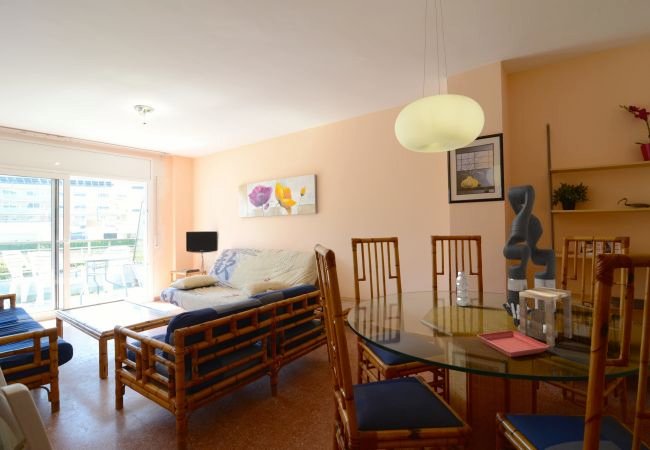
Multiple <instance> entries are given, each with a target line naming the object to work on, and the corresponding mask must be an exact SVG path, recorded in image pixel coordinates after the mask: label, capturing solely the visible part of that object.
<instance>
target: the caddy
mask: <svg viewBox="0 0 650 450" xmlns="http://www.w3.org/2000/svg"><path fill="white" fill-rule="evenodd" d="M527 321H528V337H530V338H533V339H538V340H541V341H542V342H543V341H544V342H547V338H546V323H545V324H544V311H543V310H539V309H535V307H534V308H532V309H531V314H530V318H527ZM517 332H518V333H520V325H519V326H518V327H517ZM558 332H559V331H558V330H557V329H554V334H555V339H558V337H559V336H558V334H559V333H558Z"/></svg>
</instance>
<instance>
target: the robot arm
mask: <svg viewBox="0 0 650 450" xmlns="http://www.w3.org/2000/svg"><path fill="white" fill-rule="evenodd" d="M506 196H507V200H508V203H509V205H510V206H511V208H512V210H513V213H514V214H515V217H514V218H513V219H512V221H511V223H510V229H509V236H508V238H507V240H506V243H505V245H504V247H503V250H502V254H503V257H504V259H506V260H510V261H511V260H512V261H520V263H517V264H511V265H509V266H508V268H507V272H508V273H507V276H508V277H507V300H506V301H507V302H505V303H503V304H502V307H503V309H504V310H505V311H506V312H507V314H508V316H510V317H512V318H513V325H514V327H515V328H518V326H519V325H520V301H519V292H522V291H526V290H528V282H527V266H528V262H529V261H531V263H532V264H533V265H534V266H541V267H545V269H543V270H541V271H536V272H535V273H534V276H533V277H534V288H537V287H545V288H552V289H556V260H557V259H556V257H557V255H556V252H555V250H554V249H551V248H538V247H537V246H538V242H539V241H540V240H541V237H543V233H544V228H543V226H542V223H541V221H540V219H539V218H538V217H537V216H536V215H534V213H533V214H532V212H533V207H534V204H535V200H536V192H535V188H534V186H533V185H532V184H524V185H519V186H518V185H516V186H512V187H509V188H508V189H507V190H506ZM521 243H525V244H521ZM556 304H557V300H554V313H555V312H557V305H556ZM534 308H535V309H538V299H535V298H534ZM531 309H532V308H531V307H530V306H529V303H528V302H527V318H528V317H529V316H531ZM545 313H546V300H545Z"/></svg>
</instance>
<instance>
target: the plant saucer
mask: <svg viewBox="0 0 650 450" xmlns="http://www.w3.org/2000/svg"><path fill="white" fill-rule="evenodd" d="M476 336H477V337H478V339H479V340H480V341H481V342H482V344H485V345H487V346H489V347H490V348H492V349H493V350H495V351H498V352H499V353H501V354H503V355H505V356H507V357H509V358H514V357H520V356H526V355H535V354H541V353H544V352H545V351H546V350H548V349H549V348H550V346H548V345H547V343H546V344H545V343H543V342H542V341H538V340H536V339H535V338H533V337H531V336H528V337H527V336H525V335H523V334H520V333H518V331H515V330H505V331H504V330H503V331H497V332H496V331H495V332H487V333H479V334H477V335H476Z"/></svg>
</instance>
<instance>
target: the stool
mask: <svg viewBox="0 0 650 450" xmlns="http://www.w3.org/2000/svg"><path fill="white" fill-rule="evenodd" d="M528 298H530V299H534V300H535V299H538V309H539V310H543V311H544V324H546V338H547V341H546V345H548V346H549V347H551V348H554V347H556V341H555V334H554V330H555V312H554V300H556V301H557V300H559V299H562V298H563V299H562V301H563V302H562V303H563V305H562V306H563V337H564V338H566V339H572V338H573V329H572V327H573V325H572V324H573V323H572V321H573V320H572V291H571V290H566V289H559V288H558V289H557V288H555V289H552V288H545V287H537V288H535V287H533V288H529V289H527V290H526V291H522V292H519V301H520V334H523V335H525V336H527V337H529V336H528V321H527V319H528V317H527V303H528ZM545 300H546V312H545Z"/></svg>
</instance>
